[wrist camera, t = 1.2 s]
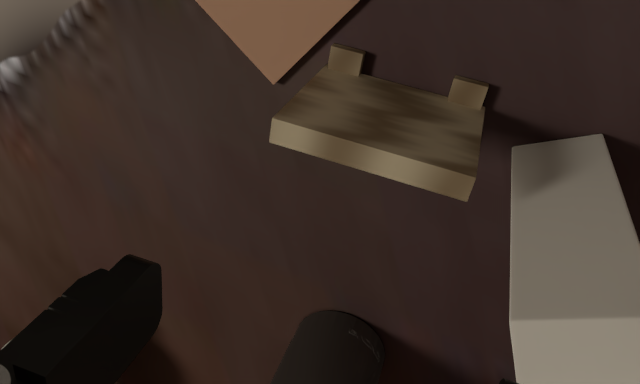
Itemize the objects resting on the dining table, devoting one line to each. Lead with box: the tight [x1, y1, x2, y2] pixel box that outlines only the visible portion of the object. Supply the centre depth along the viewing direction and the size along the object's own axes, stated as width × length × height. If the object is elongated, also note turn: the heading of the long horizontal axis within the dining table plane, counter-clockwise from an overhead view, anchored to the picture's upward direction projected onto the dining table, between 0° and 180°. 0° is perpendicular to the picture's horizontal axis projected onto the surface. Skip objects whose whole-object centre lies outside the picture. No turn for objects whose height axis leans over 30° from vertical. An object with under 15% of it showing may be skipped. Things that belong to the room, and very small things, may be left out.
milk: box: [509, 134, 640, 384], centre depth 30 cm, size 6×6×22 cm
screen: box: [269, 43, 489, 202], centre depth 35 cm, size 12×5×11 cm, turn 80°
